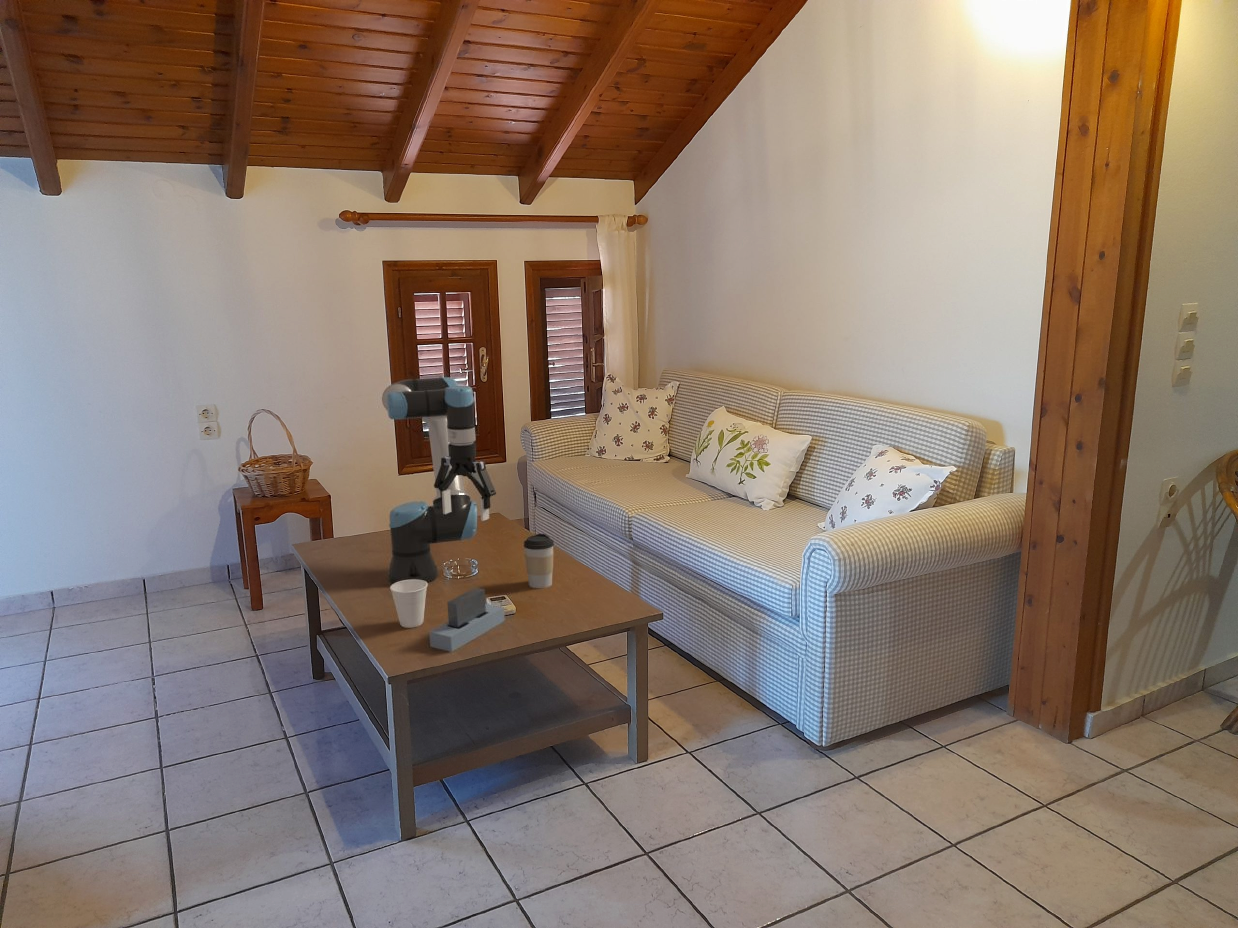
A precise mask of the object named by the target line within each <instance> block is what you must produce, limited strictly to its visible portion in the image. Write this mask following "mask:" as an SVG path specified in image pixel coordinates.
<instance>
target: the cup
mask: <svg viewBox="0 0 1238 928" xmlns="http://www.w3.org/2000/svg"><path fill="white" fill-rule="evenodd" d="M428 585H429V584H428V583H427V582H426V581H423V580H417V579H411V580H403V581H399V582H396V583H394V584H392V583H391V584H390V587H389V590H390V591H391V595H392V598H393V599H392V600H393V602H394V606H395V609H396V614H397V617H398V621H399V624H400V626H402V627H403V628H406V629H407V628H408V629H412V628H417V627H419V626H421V625H422V624H423V623H424V618H425V617H424V616H425V610H426V609H425V606H426V596H427V589H428Z"/></svg>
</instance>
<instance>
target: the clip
mask: <svg viewBox="0 0 1238 928" xmlns="http://www.w3.org/2000/svg"><path fill="white" fill-rule="evenodd" d="M446 603H447V615H448V616H447V618H448V622H449V626H451V627H452V628H456V629H460V628H462V627H464V626H465V624H466V623H468V622H470V621H472V620H473V619H475V618H480V617H482V616H484V613H486V605H485V603H486V590H485V589H483V588H479V587H474V588H473V589H470V590H468V591H467V592H464V593H462V594H460V595H459V596H456V597H455V598H452V599H451V600H449V601H447V602H446Z"/></svg>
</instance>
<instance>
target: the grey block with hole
mask: <svg viewBox="0 0 1238 928" xmlns="http://www.w3.org/2000/svg"><path fill="white" fill-rule="evenodd" d="M485 605H486V613H484V616H482V617H480V618H475V619H473V620H472V621H470V622H468V623H466V624H465V626H464V627H462V628H460V629H456V628H452V627H451V626H449V621H447V622H445V623H443V624H441V625H439V626H437V627H436V628H434V629H432V630H430V631H429V632H428V633H429V643H430V645H429V646H430V647H431V648H435V649H438V650H442V651H448V652H450V653H452V652H454V651H456V650H457V649H459V648H461V647H463V646H464V645H466V644H467V643H470V642H471V641H474V640H475V639H476V638H479V637H480V636H482V635H484V634H485V633H487V632H488V631H490V630H492V629H493V628H495V627H498V626H499V625H500V624H502V623H504V622H505V621H506V619H505V607H504V606H500V605H496V604H490V603H486V602H485Z"/></svg>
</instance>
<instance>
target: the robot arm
mask: <svg viewBox="0 0 1238 928" xmlns="http://www.w3.org/2000/svg"><path fill="white" fill-rule="evenodd" d="M381 396H382V397H381V401H382V405H383V407H384V408H385V409H386V411H387V416H388V418H389V419H390V420H407V419H420V418H421V419H422V422H423V423H424V424H426V425H427V428H428V435H429V437H428V438H429V444H430V450H431V458H432V459H431V460H432V467H433V475H434V483H433V487H434V488H435V489H436V490H435V491H436V496H435V497H434V498H433V499H432V505H428V504H427V502H426V501H411V502H406V503H403V504H400V505H397V506H395V507H394V508H392V510H391V511H390V512H389V517H388V518H389V523H388V527H389V528H390V529H389V530H390V544H391V560H390V564H389V569H388V571H387V579H388V582H389V583H390V584H391V585H392V584H394V583H396V582H399V581H403V580H411V579H417V580H423V581H426V582H427V584H428V583H430V582H433V581H435V580H436V579H437V578H438V576H439V572H438V571H439V569H438V567H437V565H436V563H435V559H434V557H433V555H432V552H431V545H433V544H441V543H448V542H451V543H452V542H457V541H458V542H461V541H465V540H470V539H473V538H474V537H475V535H476V533H477V525H478V508H477V502H476V501H473V500H472V501H471V496H470V494H468V493H467V492H466V491H465V488H464V481H463V480H464V479H463V477H466V478H468V479H469V480H470V481H471V482H472V484H473V486H474V487H475V489H476V490H477V491H478V493H479V494H480V496H481V497H480V498H479V508H480V510H479V511H480V521H481V522H484V521H486V520H489V519H490V509H491V497H493V496H496V495H497V492H496V489H495V487H494V484H493V482H492V480H491V477H490V476H489V473H488V471H487V467H486V462H485V461H484V460H482V461H476V455H477V445H476V440H477V439H476V438H477V437H476V426H475V405H474V402H475V397H474V391H473V388H472V387H471V386H469V385H458V383H457V381H456V380H455V378H453V377H450V376H449V377H447V376H446V377H441V376H440V377H429V378H413V379H411V378H410V379H403V380H400V381H397V382H394V383H391V384H390V385H389V386H388V387H386V389H384V390H383V393H382V395H381Z"/></svg>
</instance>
